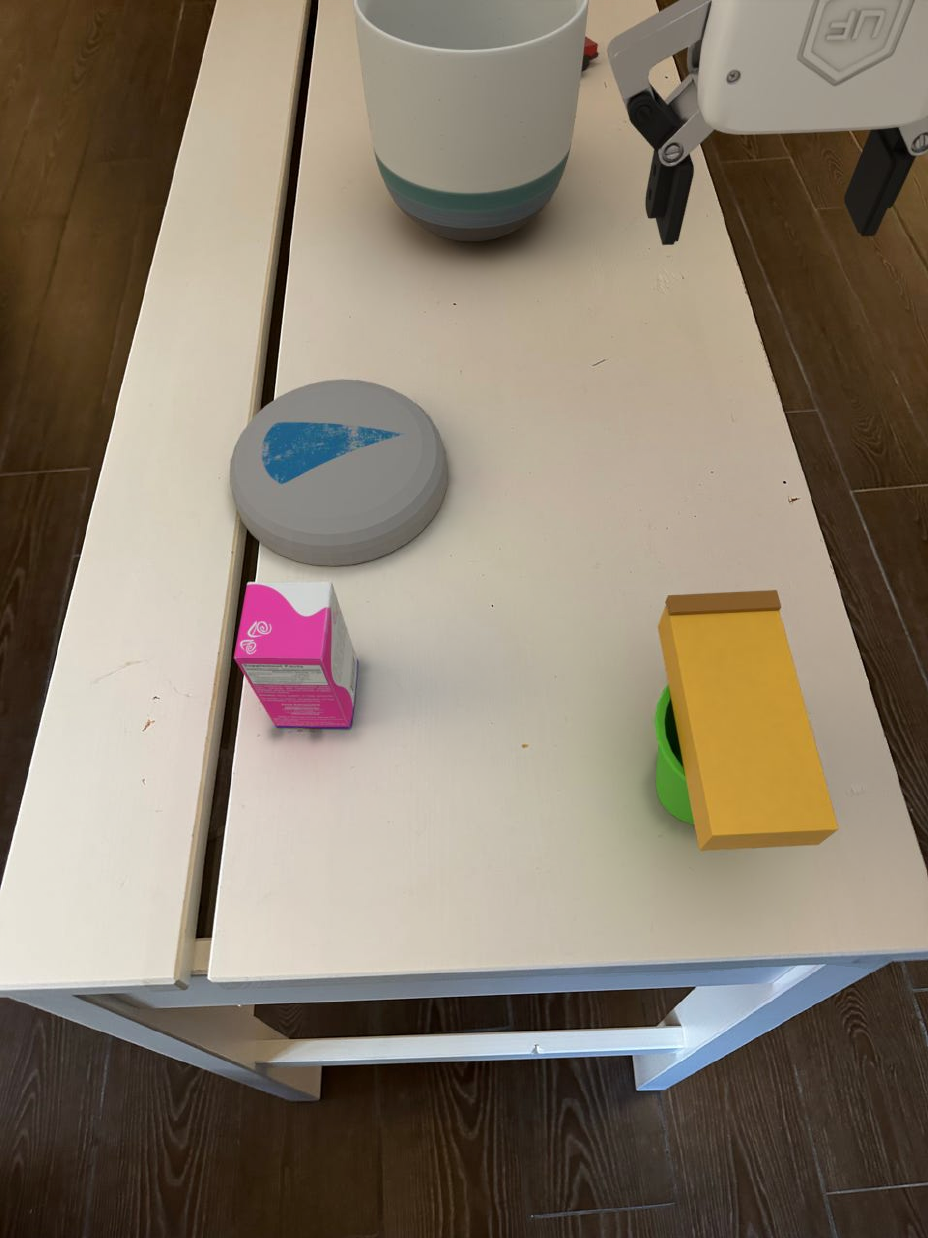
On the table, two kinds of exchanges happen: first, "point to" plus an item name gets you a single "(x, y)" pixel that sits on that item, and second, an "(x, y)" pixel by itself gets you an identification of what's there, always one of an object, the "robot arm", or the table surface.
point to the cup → (670, 763)
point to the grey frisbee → (338, 472)
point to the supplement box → (298, 654)
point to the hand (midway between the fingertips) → (761, 223)
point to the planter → (471, 106)
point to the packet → (743, 723)
